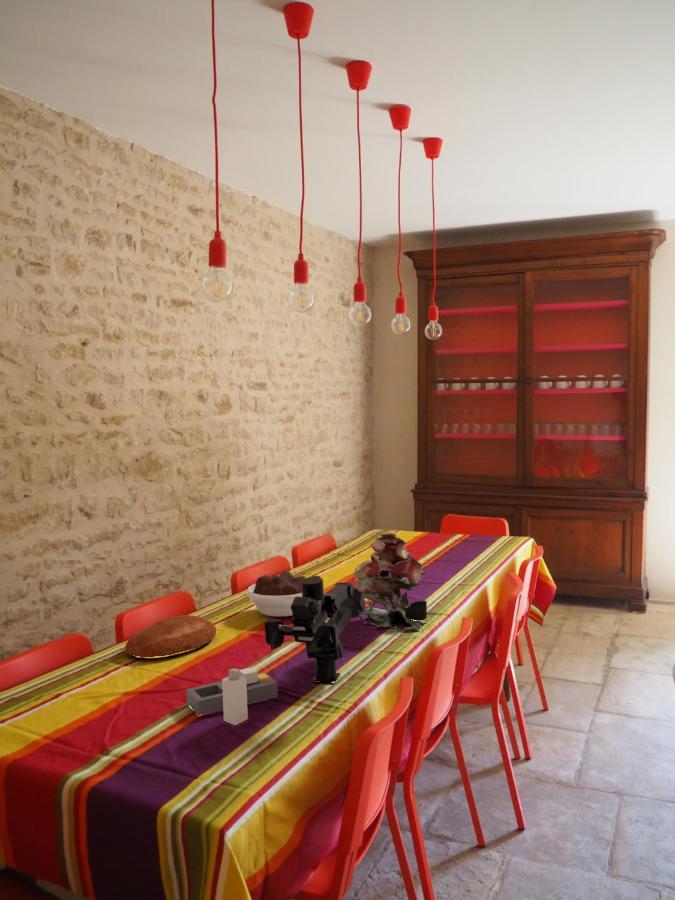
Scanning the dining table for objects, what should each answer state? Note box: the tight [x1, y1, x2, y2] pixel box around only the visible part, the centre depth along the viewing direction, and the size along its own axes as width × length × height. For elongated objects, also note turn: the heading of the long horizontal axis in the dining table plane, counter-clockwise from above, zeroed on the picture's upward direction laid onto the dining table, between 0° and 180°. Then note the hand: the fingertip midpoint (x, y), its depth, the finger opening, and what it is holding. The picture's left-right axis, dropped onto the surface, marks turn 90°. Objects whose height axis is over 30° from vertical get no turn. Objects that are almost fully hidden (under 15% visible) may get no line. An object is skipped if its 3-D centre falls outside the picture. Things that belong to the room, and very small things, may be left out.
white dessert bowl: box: [246, 570, 306, 617], centre depth 264 cm, size 25×25×15 cm
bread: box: [124, 614, 217, 657], centre depth 232 cm, size 23×32×9 cm
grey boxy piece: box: [185, 666, 279, 715], centre depth 186 cm, size 21×9×7 cm, turn 120°
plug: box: [221, 667, 249, 725], centre depth 174 cm, size 4×4×12 cm
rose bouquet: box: [353, 532, 428, 632], centre depth 252 cm, size 26×29×30 cm
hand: (289, 649), depth 175 cm, fingers open, 9 cm apart
